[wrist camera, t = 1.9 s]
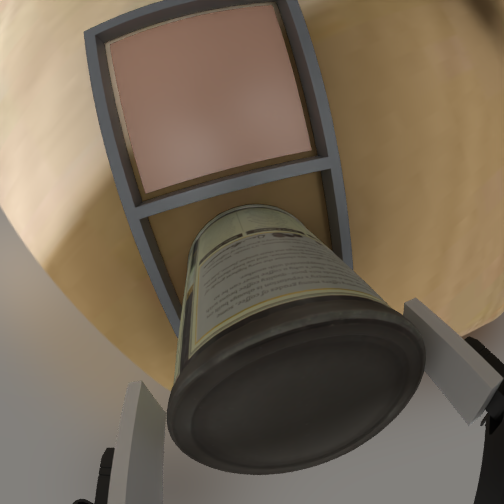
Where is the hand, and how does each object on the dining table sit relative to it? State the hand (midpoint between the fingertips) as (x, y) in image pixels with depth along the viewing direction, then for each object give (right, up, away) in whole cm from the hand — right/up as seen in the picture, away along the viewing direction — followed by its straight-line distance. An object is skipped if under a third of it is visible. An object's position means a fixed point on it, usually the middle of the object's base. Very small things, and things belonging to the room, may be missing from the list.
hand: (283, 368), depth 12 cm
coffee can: (-1, +4, +10) cm, 11 cm away
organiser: (-3, +10, +7) cm, 13 cm away
